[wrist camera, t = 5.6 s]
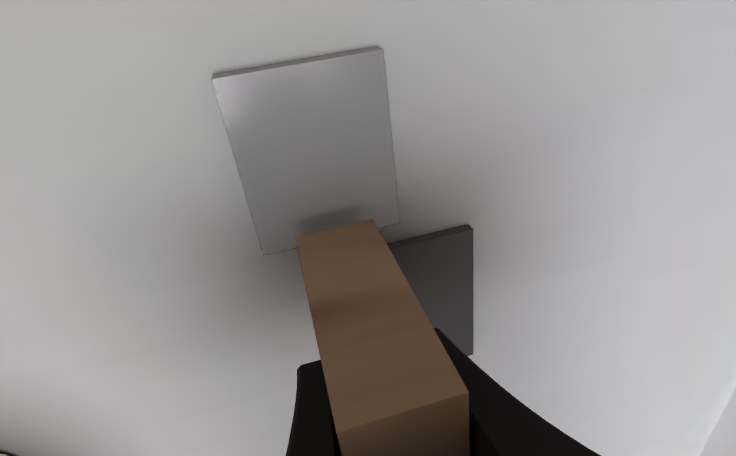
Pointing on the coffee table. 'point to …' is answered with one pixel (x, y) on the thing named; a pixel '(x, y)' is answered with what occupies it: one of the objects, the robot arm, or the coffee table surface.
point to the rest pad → (442, 280)
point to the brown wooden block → (380, 350)
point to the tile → (311, 143)
